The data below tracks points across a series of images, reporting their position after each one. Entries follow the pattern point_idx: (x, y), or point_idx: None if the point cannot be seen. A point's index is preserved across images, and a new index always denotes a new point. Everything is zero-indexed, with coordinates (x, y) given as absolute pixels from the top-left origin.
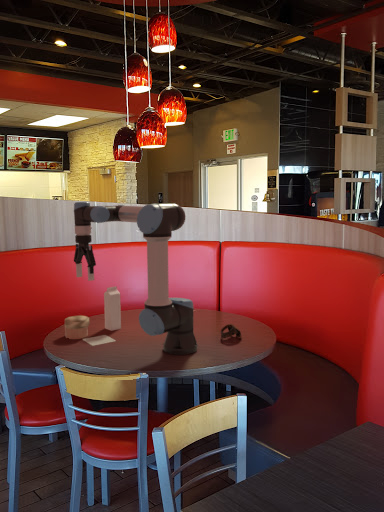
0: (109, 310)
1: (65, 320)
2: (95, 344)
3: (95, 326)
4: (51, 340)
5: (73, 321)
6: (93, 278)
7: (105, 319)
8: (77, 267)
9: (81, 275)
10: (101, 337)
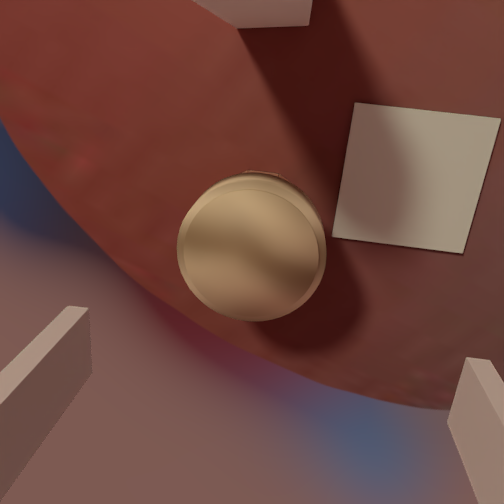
0: (291, 11)
1: (234, 315)
2: (458, 233)
3: (146, 43)
4: (234, 333)
5: (295, 301)
6: (495, 383)
7: (238, 22)
8: (15, 464)
9: (80, 327)
10: (381, 147)
